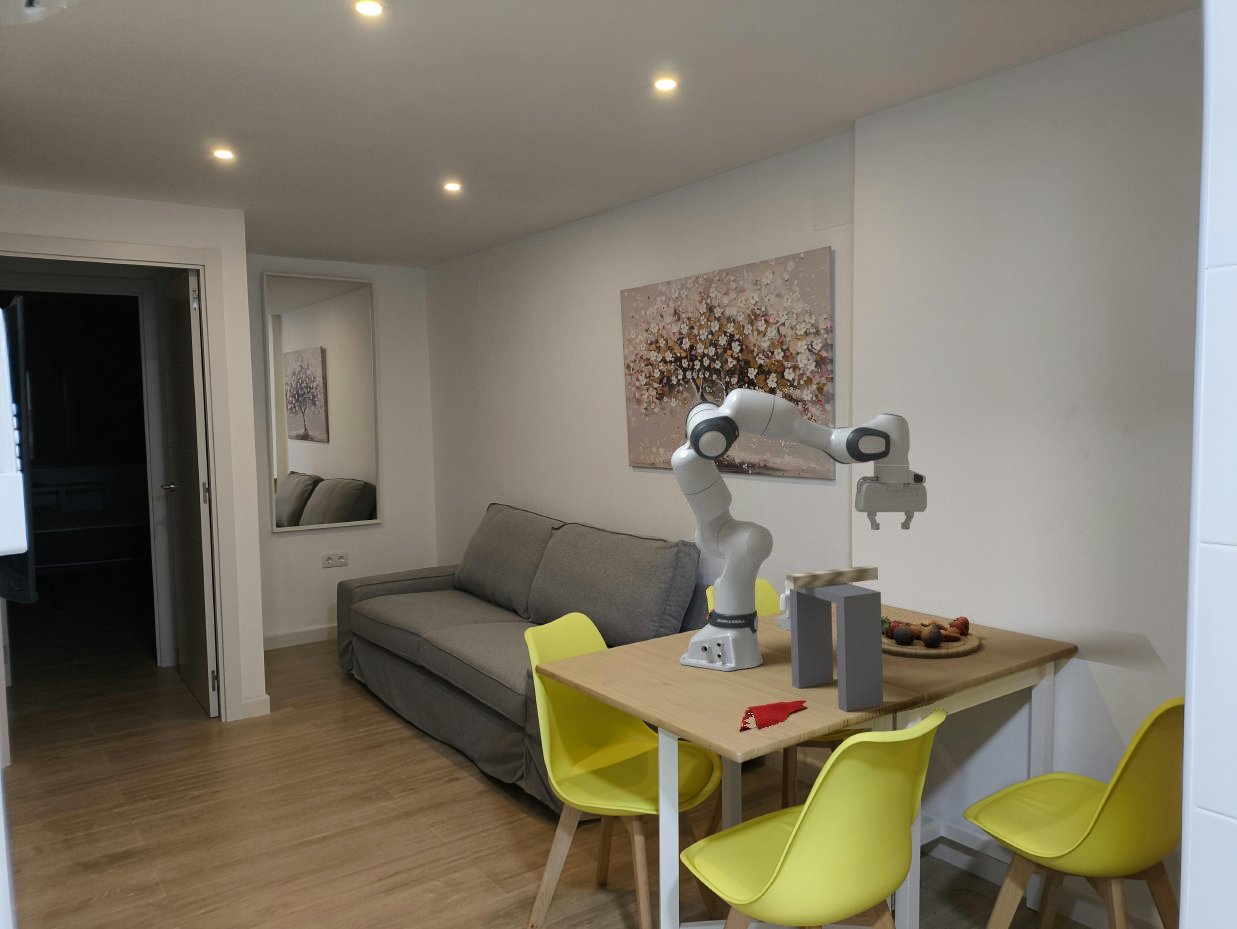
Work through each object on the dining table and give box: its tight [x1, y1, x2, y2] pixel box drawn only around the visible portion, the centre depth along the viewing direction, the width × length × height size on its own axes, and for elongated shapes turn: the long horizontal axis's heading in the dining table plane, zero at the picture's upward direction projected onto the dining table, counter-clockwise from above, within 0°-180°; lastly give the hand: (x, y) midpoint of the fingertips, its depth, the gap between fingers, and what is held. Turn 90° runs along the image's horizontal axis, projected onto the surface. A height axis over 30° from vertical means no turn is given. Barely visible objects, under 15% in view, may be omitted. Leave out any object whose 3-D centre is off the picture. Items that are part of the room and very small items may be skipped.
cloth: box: [738, 699, 808, 732], centre depth 192 cm, size 26×14×2 cm, turn 124°
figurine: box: [774, 580, 791, 631], centre depth 269 cm, size 7×9×15 cm
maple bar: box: [785, 565, 879, 590], centre depth 206 cm, size 24×3×3 cm, turn 111°
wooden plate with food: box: [881, 615, 982, 660], centre depth 246 cm, size 32×32×8 cm
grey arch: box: [790, 583, 884, 713], centre depth 203 cm, size 10×22×26 cm, turn 21°
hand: (890, 529), depth 223 cm, fingers open, 8 cm apart
